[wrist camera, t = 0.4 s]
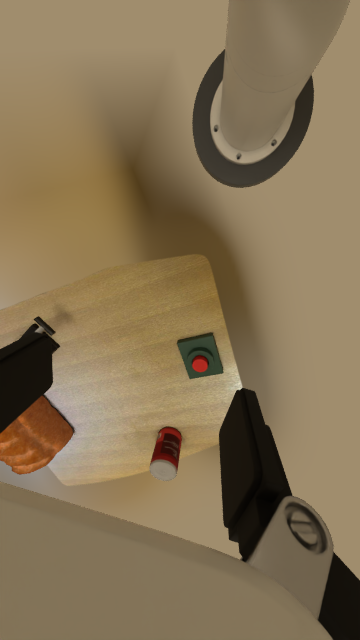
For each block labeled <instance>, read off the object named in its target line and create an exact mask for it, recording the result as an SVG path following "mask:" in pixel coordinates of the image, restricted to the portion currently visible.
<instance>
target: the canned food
mask: <svg viewBox="0 0 360 640" xmlns="http://www.w3.org/2000/svg"><path fill="white" fill-rule="evenodd" d="M181 441H182V438H181V434H180V433H179V431H177V430H176V429H174V428H171V427H166V428H163V429H162V430H161V431H160V432H159V434H158V437H157V441H156V445H155V449H154V452H153V456H152V460H151V464H150V472H151V474H152V475H153V476H154V477H155V478H157V479H159V480H163V481H169V480H172V479H174V478H175V477H176V474H177V469H178V462H179V455H180V448H181Z"/></svg>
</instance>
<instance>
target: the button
mask: <svg viewBox="0 0 360 640" xmlns="http://www.w3.org/2000/svg"><path fill="white" fill-rule="evenodd" d="M192 366H193V369H194V370H195V371H197V372H204V371H205V370H206V369H207V367H208V361H207V359H206V358H205V357H204V356H196V357H195V358H194V359H193V364H192Z"/></svg>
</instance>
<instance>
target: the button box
mask: <svg viewBox="0 0 360 640" xmlns="http://www.w3.org/2000/svg"><path fill="white" fill-rule="evenodd" d="M177 345H178V347H179V350H180V353H181V356H182V359H183V361H184V364H185V367H186V370H187V372H188V375H189V378H190V379H193V378H199V377H204V376H210V375H216V374H222V373H223V367H222V364H221V360H220V357H219V353H218V350H217V346H216V343H215V339H214V336H213V333H208V334H204V335H200V336H195V337H191V338H186V339H182V340H178V342H177ZM196 356H204V357H205V358H206V359H207V361H208V367H207V369H206V370H205V371H204V372H197V371H195V370H194V369H193V366H192V364H193V359H194V358H195V357H196Z"/></svg>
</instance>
